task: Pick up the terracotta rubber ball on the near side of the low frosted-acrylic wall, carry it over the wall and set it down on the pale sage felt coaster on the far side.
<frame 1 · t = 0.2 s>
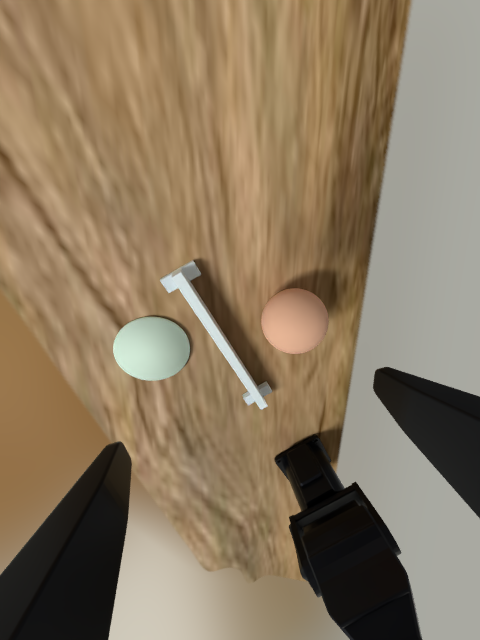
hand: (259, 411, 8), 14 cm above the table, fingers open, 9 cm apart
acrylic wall: (224, 342, 22), on the table
ball: (281, 309, 22), on the table
felt coaster: (153, 349, 21), on the table
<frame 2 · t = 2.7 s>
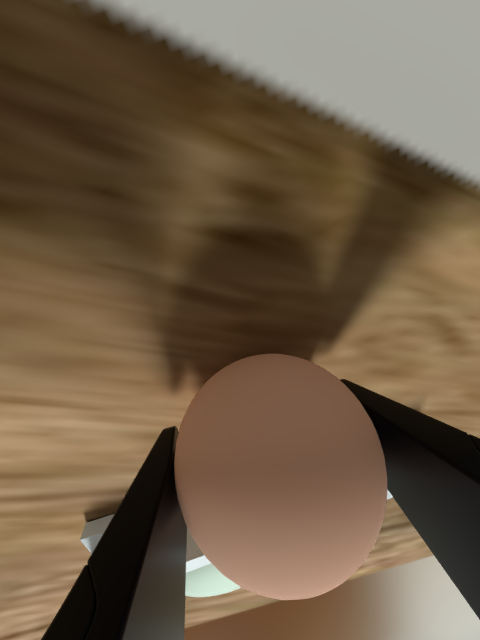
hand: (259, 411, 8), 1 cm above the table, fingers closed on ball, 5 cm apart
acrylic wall: (266, 485, 12), on the table
ball: (249, 388, 9), on the table, touching gripper
felt coaster: (227, 559, 14), on the table
when the fingers open (3 cm above the table, at t = 6.7 s): ball drops 1 cm, resting on felt coaster.
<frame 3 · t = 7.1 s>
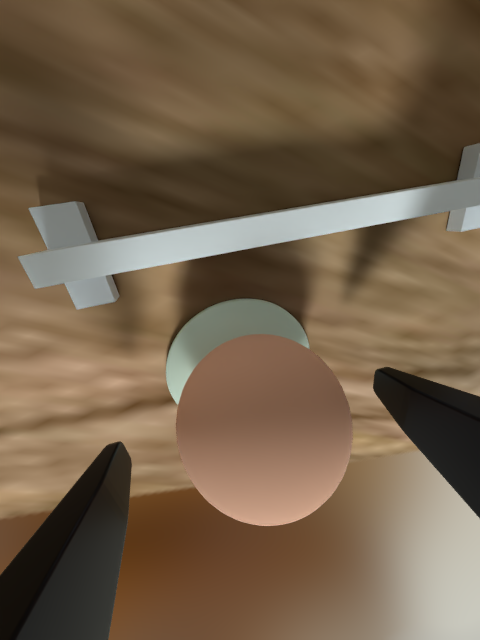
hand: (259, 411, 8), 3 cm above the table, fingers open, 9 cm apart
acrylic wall: (297, 219, 9), on the table
ball: (242, 369, 10), resting on felt coaster
felt coaster: (240, 366, 11), on the table
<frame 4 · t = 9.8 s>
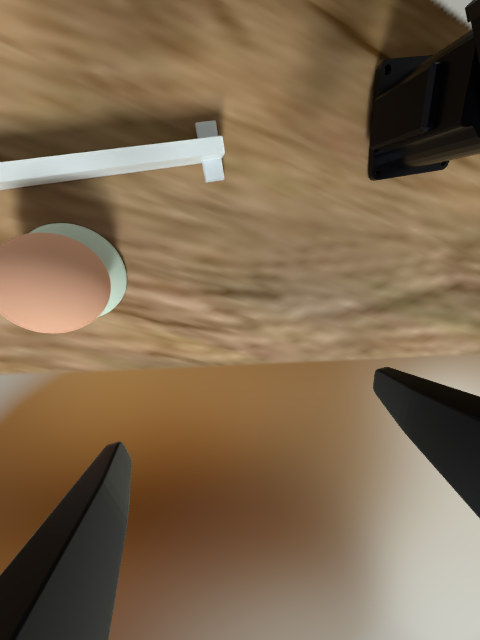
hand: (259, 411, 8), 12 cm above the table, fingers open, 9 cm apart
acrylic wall: (87, 170, 14), on the table
ball: (73, 274, 16), resting on felt coaster
felt coaster: (75, 274, 16), on the table
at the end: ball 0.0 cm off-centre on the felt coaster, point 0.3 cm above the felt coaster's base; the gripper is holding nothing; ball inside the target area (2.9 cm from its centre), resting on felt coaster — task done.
